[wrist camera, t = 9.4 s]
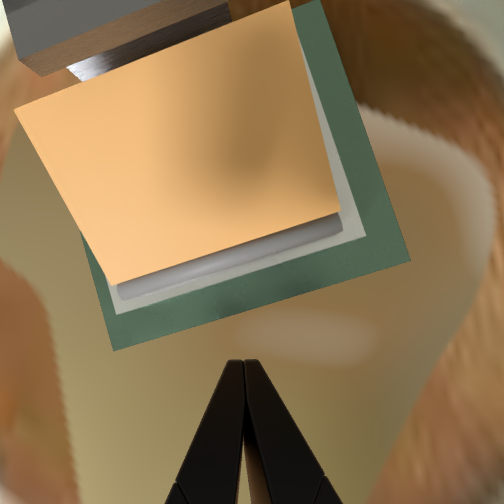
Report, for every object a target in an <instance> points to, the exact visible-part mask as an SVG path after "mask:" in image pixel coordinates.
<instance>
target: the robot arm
mask: <svg viewBox="0 0 504 504" xmlns="http://www.w3.org/2000/svg"><path fill="white" fill-rule="evenodd" d="M243 443H244V452H245V460H246V467H247V474H248V482H249V489H250V497H251V504H343V503H342V501H341V499H340V498H339V496H338V495H337V493H336V491H335V490H334V488H333V486H332V484H331V483H330V481H329V479H328V478H327V477H326V476H324V475H325V473H324V471H323V469H322V468H321V466H320V464H319V463H318V461H317V459H316V457H315V456H314V454H313V452H312V451H311V449H310V447H309V446H308V444H307V442H306V440H305V439H304V437H303V435H302V433H301V432H300V430H299V429H298V427H297V425H296V423H295V421H294V420H293V418H292V416H291V415H290V413H289V411H288V410H287V408H286V406H285V404H284V403H283V401H282V399H281V398H280V396H279V394H278V392H277V391H276V389H275V387H274V386H273V384H272V382H271V380H270V379H269V377H268V375H267V374H266V372H265V370H264V368H263V367H262V365H261V363H260V362H259V361H258V360H256V359H246V360H244V361H242V360H228V362H227V363H226V365H225V368H224V370H223V372H222V375H221V377H220V379H219V381H218V383H217V386H216V388H215V390H214V393H213V395H212V397H211V399H210V402H209V404H208V406H207V409H206V411H205V413H204V416H203V418H202V420H201V422H200V425H199V427H198V429H197V431H196V434H195V436H194V438H193V441H192V443H191V445H190V447H189V450H188V452H187V454H186V457H185V459H184V461H183V463H182V466H181V468H180V470H179V473H178V475H177V477H176V479H175V482H176V483H174V484H173V486H172V488H171V490H170V493H169V495H168V497H167V499H166V502H165V504H238V493H239V482H240V472H241V461H242V448H243V447H242V446H243Z"/></svg>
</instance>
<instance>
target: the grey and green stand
mask: <svg viewBox="0 0 504 504" xmlns="http://www.w3.org/2000/svg"><path fill="white" fill-rule="evenodd" d="M228 1H230V0H2V2H3V5H4V9H5V13H6V16H7V20H8V24H9V27H10V31H11V34H12V38H13V42H14V45H15V49H16V53H17V56H18V60H19V61H21V62H22V63H23V64H25V65H26V66H27V67H29V68H30V69H31V70H33V71H34V72H35V73H37V74H38V75H39V76H41V77H43V76H46V75H48V74H51V73H53V72H55V71H58V70H60V69H63V68H65V67H67V68H68V69H69V70H70V71H71V72H72V73H73V74H75V75H76V76H77V77H78V78H79V79H80V80H81V81H83V82H84V81H86V80H89V79H91V78H94V77H96V76H99V75H101V74H104V73H106V72H109V71H111V70H114V69H116V68H119V67H121V66H124V65H126V64H129V63H131V62H134V61H136V60H139V59H141V58H144V57H146V56H149V55H151V54H154V53H156V52H159V51H161V50H164V49H166V48H169V47H171V46H174V45H177V44H179V43H182V42H184V41H187V40H189V39H192V38H194V37H197V36H199V35H202V34H204V33H207V32H209V31H212V30H214V29H217V28H219V27H222V26H224V25H227V24H229V23H232V20H231V16H230V12H229V8H228V4H227V2H228ZM291 10H292V14H293V19H294V23H295V27H296V31H297V35H298V39H299V43H300V47H301V51H302V55H303V59H304V63H305V67H306V71H307V75H308V79H309V83H310V87H311V91H312V95H313V99H314V103H315V107H316V111H317V115H318V119H319V123H320V127H321V131H322V135H323V140H324V144H325V148H326V152H327V156H328V160H329V164H330V168H331V172H332V176H333V180H334V184H335V188H336V192H337V196H338V200H339V204H340V208H341V211H339V212H338V214H339V216H340V219H341V222H342V226H343V231H342V232H339V233H336V234H333V235H330V236H327V237H324V238H320V239H317V240H314V241H311V242H308V243H305V244H302V245H299V246H295V247H292V248H289V249H286V250H283V251H280V252H277V253H274V254H270V255H267V256H264V257H261V258H258V259H255V260H252V261H249V262H245V263H242V264H239V265H236V266H233V267H230V268H227V269H224V270H220V271H217V272H214V273H211V274H208V275H205V276H202V277H199V278H195V279H192V280H189V281H186V282H183V283H180V284H177V285H174V286H170V287H167V288H164V289H161V290H158V291H155V292H152V293H149V294H145V295H142V296H139V297H136V298H133V299H130V300H127V301H123V300H122V299H121V298H120V297H119V295H118V292H117V284H115V285H112V286H111V284H110V283H109V281H108V279H107V277H106V275H105V274H104V272H103V270H102V268H101V266H100V265H99V263H98V261H97V259H96V257H95V256H94V254H93V252H92V250H91V248H90V247H89V245H88V243H87V241H86V239H85V238H84V236H83V234H82V232H81V230H80V233H81V236H82V240H83V244H84V247H85V251H86V254H87V258H88V262H89V265H90V269H91V273H92V276H93V280H94V283H95V286H96V290H97V294H98V298H99V301H100V305H101V308H102V312H103V315H104V319H105V323H106V326H107V330H108V333H109V337H110V341H111V344H112V348H113V351H116V350H119V349H123V348H126V347H130V346H133V345H136V344H139V343H143V342H146V341H149V340H153V339H156V338H159V337H162V336H166V335H169V334H172V333H176V332H178V331H182V330H185V329H188V328H192V327H195V326H198V325H202V324H205V323H208V322H212V321H215V320H218V319H222V318H225V317H228V316H231V315H235V314H238V313H241V312H244V311H248V310H251V309H254V308H258V307H261V306H264V305H268V304H271V303H274V302H277V301H281V300H284V299H287V298H291V297H294V296H297V295H300V294H303V293H307V292H310V291H314V290H317V289H320V288H323V287H327V286H330V285H333V284H337V283H339V282H343V281H346V280H350V279H353V278H356V277H359V276H363V275H366V274H369V273H373V272H376V271H379V270H382V269H386V268H389V267H392V266H395V265H399V264H402V263H405V262H409V261H411V259H410V257H409V254H408V251H407V248H406V245H405V242H404V240H403V236H402V234H401V231H400V228H399V225H398V222H397V219H396V216H395V214H394V211H393V208H392V205H391V202H390V199H389V196H388V193H387V191H386V188H385V185H384V182H383V179H382V176H381V173H380V171H379V168H378V165H377V162H376V159H375V157H374V153H373V150H372V148H371V145H370V142H369V139H368V136H367V133H366V130H365V127H364V125H363V122H362V119H361V116H360V113H359V110H358V107H357V105H356V102H355V99H354V96H353V93H352V90H351V87H350V84H349V82H348V79H347V76H346V73H345V70H344V67H343V64H342V62H341V59H340V56H339V53H338V50H337V47H336V44H335V41H334V39H333V36H332V33H331V30H330V27H329V24H328V21H327V18H326V16H325V13H324V10H323V7H322V4H321V1H320V0H313V1H311V2H308V3H306V4H303V5H301V6H298V7H296V8H293V9H291Z"/></svg>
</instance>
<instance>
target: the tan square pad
mask: <svg viewBox="0 0 504 504" xmlns="http://www.w3.org/2000/svg"><path fill="white" fill-rule="evenodd" d="M13 110H14V111H15V113H16V115H17V117H18V119H19V120H20V122H21V124H22V126H23V127H24V129H25V131H26V133H27V135H28V137H29V138H30V140H31V142H32V144H33V146H34V147H35V149H36V151H37V153H38V154H39V156H40V158H41V160H42V162H43V164H44V165H45V167H46V169H47V171H48V173H49V174H50V176H51V178H52V180H53V182H54V183H55V185H56V187H57V189H58V191H59V192H60V194H61V196H62V198H63V200H64V201H65V203H66V205H67V207H68V209H69V210H70V212H71V214H72V216H73V218H74V219H75V221H76V223H77V225H78V227H79V229H80V230H81V232H82V234H83V236H84V238H85V239H86V241H87V243H88V245H89V247H90V248H91V250H92V252H93V254H94V256H95V257H96V259H97V261H98V263H99V265H100V266H101V268H102V270H103V272H104V274H105V275H106V277H107V279H108V281H109V283H110V284H111V286H112V285H115V284H117V292H118V295H119V297H120V298H121V299H122V300H123V301H127V300H130V299H133V298H136V297H139V296H142V295H145V294H149V293H152V292H155V291H158V290H161V289H164V288H167V287H170V286H174V285H177V284H180V283H183V282H186V281H189V280H192V279H195V278H199V277H202V276H205V275H208V274H211V273H214V272H217V271H220V270H224V269H227V268H230V267H233V266H236V265H239V264H242V263H245V262H249V261H252V260H255V259H258V258H261V257H264V256H267V255H270V254H274V253H277V252H280V251H283V250H286V249H289V248H292V247H295V246H299V245H302V244H305V243H308V242H311V241H314V240H317V239H320V238H324V237H327V236H330V235H333V234H336V233H339V232H342V231H343V226H342V222H341V219H340V216H339V214H338V212H339V211H341V208H340V204H339V200H338V196H337V192H336V188H335V184H334V180H333V176H332V172H331V168H330V164H329V160H328V156H327V152H326V148H325V144H324V140H323V135H322V131H321V127H320V123H319V119H318V115H317V111H316V107H315V103H314V99H313V95H312V91H311V87H310V83H309V79H308V75H307V71H306V67H305V63H304V59H303V55H302V51H301V47H300V43H299V39H298V35H297V31H296V27H295V23H294V19H293V14H292V10H291V6H290V2H289V0H287V1H284V2H282V3H279V4H277V5H274V6H272V7H269V8H267V9H264V10H262V11H259V12H257V13H254V14H252V15H249V16H247V17H244V18H242V19H239V20H237V21H234V22H232V23H229V24H227V25H224V26H222V27H219V28H217V29H214V30H212V31H209V32H207V33H204V34H202V35H199V36H197V37H194V38H192V39H189V40H187V41H184V42H182V43H179V44H177V45H174V46H171V47H169V48H166V49H164V50H161V51H159V52H156V53H154V54H151V55H149V56H146V57H144V58H141V59H139V60H136V61H134V62H131V63H129V64H126V65H124V66H121V67H119V68H116V69H114V70H111V71H109V72H106V73H104V74H101V75H99V76H96V77H94V78H91V79H89V80H86V81H84V82H81V83H79V84H76V85H74V86H71V87H69V88H66V89H63V90H61V91H58V92H56V93H53V94H51V95H48V96H46V97H43V98H41V99H38V100H36V101H33V102H31V103H28V104H26V105H23V106H21V107H18V108H16V109H13Z"/></svg>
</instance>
